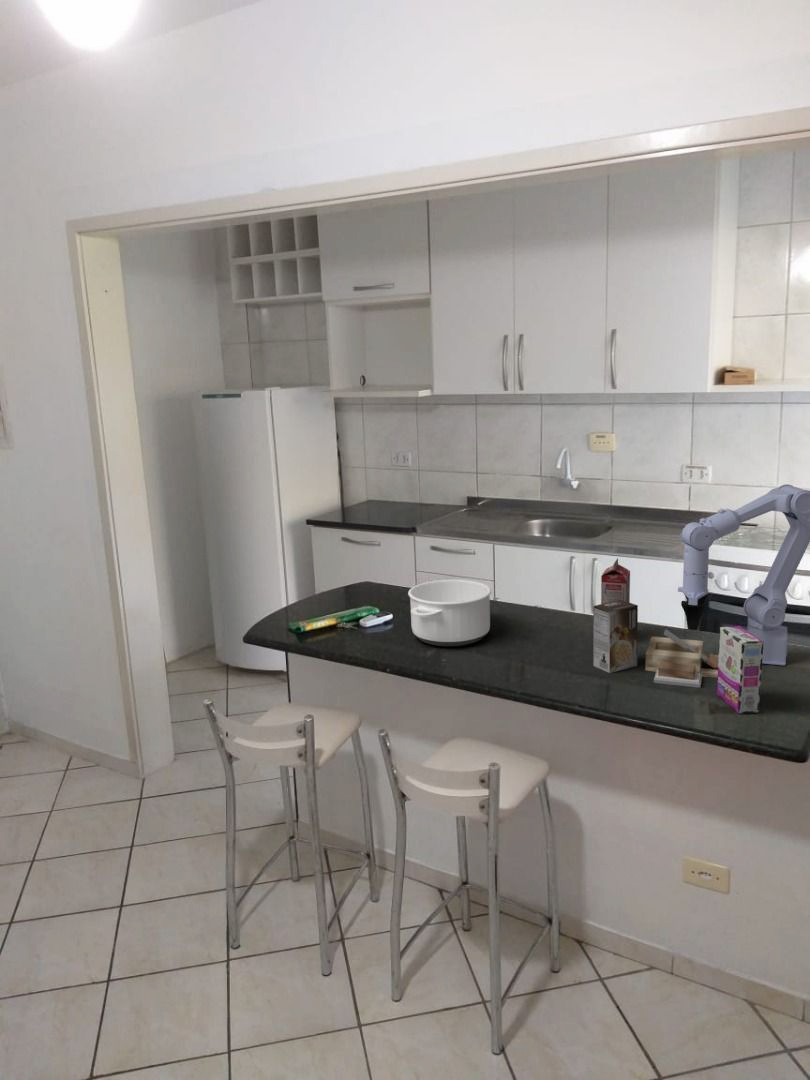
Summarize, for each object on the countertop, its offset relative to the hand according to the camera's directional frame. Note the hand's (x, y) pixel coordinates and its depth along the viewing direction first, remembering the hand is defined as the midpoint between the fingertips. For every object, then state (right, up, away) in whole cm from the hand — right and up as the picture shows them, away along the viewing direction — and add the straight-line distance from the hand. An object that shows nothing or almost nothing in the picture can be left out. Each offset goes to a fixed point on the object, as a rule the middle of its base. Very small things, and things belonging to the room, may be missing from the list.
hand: (693, 624), depth 210 cm
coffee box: (-19, -11, +3) cm, 22 cm away
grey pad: (-6, -12, -8) cm, 16 cm away
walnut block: (-7, -11, -7) cm, 15 cm away
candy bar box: (+2, -16, -22) cm, 27 cm away
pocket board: (-2, -10, +2) cm, 11 cm away
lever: (-1, -6, 0) cm, 6 cm away
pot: (-59, -7, +29) cm, 66 cm away
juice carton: (-14, -6, +22) cm, 27 cm away
